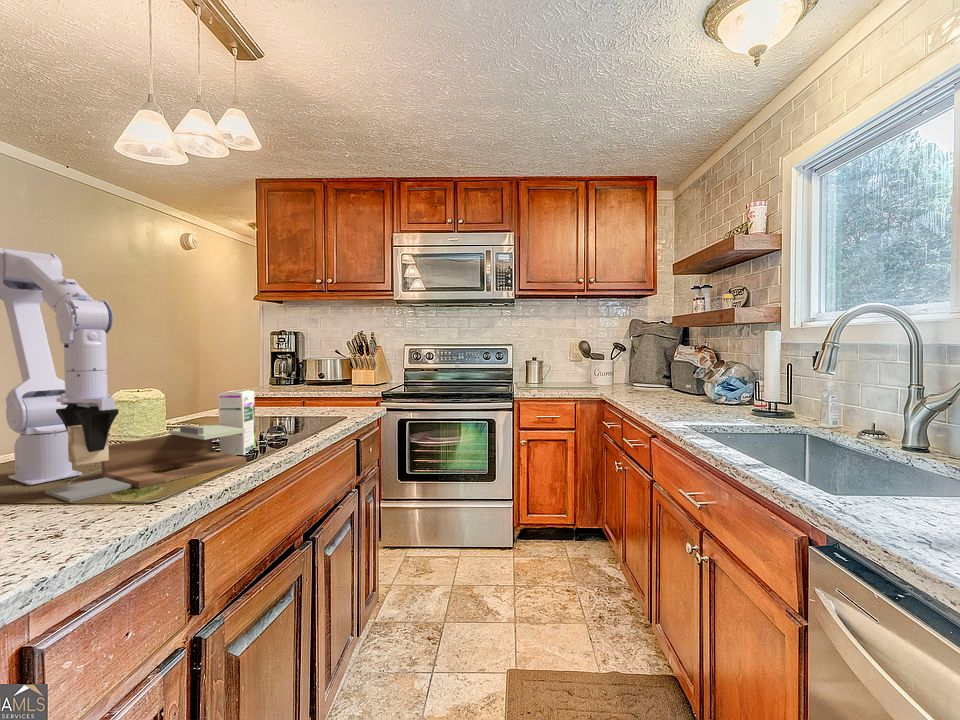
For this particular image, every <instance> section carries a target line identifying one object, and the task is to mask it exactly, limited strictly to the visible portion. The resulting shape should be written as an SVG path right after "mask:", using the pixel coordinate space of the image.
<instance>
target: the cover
mask: <svg viewBox="0 0 960 720" xmlns="http://www.w3.org/2000/svg"><path fill="white" fill-rule="evenodd" d="M240 433H245V429H242V428H235V427H228V426H221V425H219V424H214V423H213V424H212V423H210V424H203V425H197V426H196V425H195V426H192V425H186V424H185V425H180V426H179V428H175V429H170V430H169V435H178V436H184V437H190V438H196V439H202V440H206V439H212V440H213V439H216V438H217V439H218V438H220V437H223V436H229V435H234V434H240Z"/></svg>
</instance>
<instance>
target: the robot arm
mask: <svg viewBox="0 0 960 720" xmlns="http://www.w3.org/2000/svg"><path fill="white" fill-rule="evenodd" d="M0 300H1V301H3V304H4V308H5V311H6V314H7V319H8V322H9V328H10V331H11V336H12V341H13V346H14V349H15V353H16V357H17V358H16V359H17V362H18V367H19V372H20V376H21V381H22V382H20V383H19V384H17V385H16V386H15V387H13V388H12V389H11V390H10V391H9V392H8V393H7V396H6V398H5V405H6V409H5V410H6V411H5V417H6V423H7V426H8V427H9V428H10V429H11V430H12V431H13V432H15V433H16V434H19V436H18V437H17V438H16V440H15V442H14V448H13V449H14V473H15V474H11V475H8V479H10V480H13V481H17V482H19V483H22V484H25V485H27V486H33V485H38V484H44V483H47V482H49V483H50V482H54V481H59V480H62V479H69V478H72V477H73V478H74V477H79V476H82V475H83V472H82V471H78V470H74V469H73V463H71V462H69V461H68V426H77V425H82V428H83V431H84V436H85V442H86V447H87V450H88V452H94V451H100V450H104V448H105V444H106V441H107V437H108V438H109V433H110V429H111V427H112V424H113V423H114V421H115V419H116V417H117V416H118V414H119V411H120V410H119V409H117V408H116V398H115V397H112V396H111V395H109V394H108V393H109V392H108V361H107V360H108V359H107V358H108V356H107V355H108V354H107V352H108V351H107V350H108V349H107V334H109V333H110V332H111V330H112V329H113V324H114V313H113V309H112V307H111V305H110V303H109V302H108V301H107V300H94V299H93V298H92V296H91V295H90V294H88V293H87V292H86V290H84V289H83V288H82V286H80V285H79V284H78V283H77V281H76V280H75V279H74V278H65V277H64V276H63V265H62V261H61V259H60V258H59V257H58V255H56V253H44V252H43V253H41V252H35V251H25V250H18V249H11V248H10V249H9V248H3V247H0ZM42 303H46V304H47V305H48V307H49V308H50V310H52V311H53V313H55V323H56V327H57V329H58V332H59V341H60V344H63V362H64V380H63V379H61V378H59V377H57V375H56V369H55V365H54V361H53V357H52V353H51V349H50V343H49V340H48V336H47V333H46V329H45V328H46V327H45V323H44V320H43V319H44V318H43V315H42V311H41V307H40V306H41V304H42Z"/></svg>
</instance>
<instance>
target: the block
mask: <svg viewBox="0 0 960 720" xmlns="http://www.w3.org/2000/svg"><path fill="white" fill-rule="evenodd" d="M108 445H109V436H108V437H107V441H106V444H105V448H104V450H100V451H94V452H88V450H87V447H86V442H85V436H84V431H83V428H82V425H77V426H68V461H69V462H71V463H72V465H75V466H82V465H86V464H92V463H99V462H102V461H107V460H109V448H108Z"/></svg>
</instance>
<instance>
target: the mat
mask: <svg viewBox="0 0 960 720" xmlns="http://www.w3.org/2000/svg"><path fill="white" fill-rule="evenodd" d="M128 489H132V484H128V483H124V482H121V481H117V480H113V479H109V478H102V477H100V478H97V479H92V480H91V479H90V480H88V481H87V480H86V481H82V482H78V483H73V484H68V485H63V486H59V487H54V488H49V489H45V490H44V494H45V495H48V496H51V497H54V498H57V499H60V500H62V501H65V502H68V503H72V502H77V501H82V500H85V499H91V498H94V497H99V496H103V495H107V494H110V493H115V492H119V491H124V490H128Z"/></svg>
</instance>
